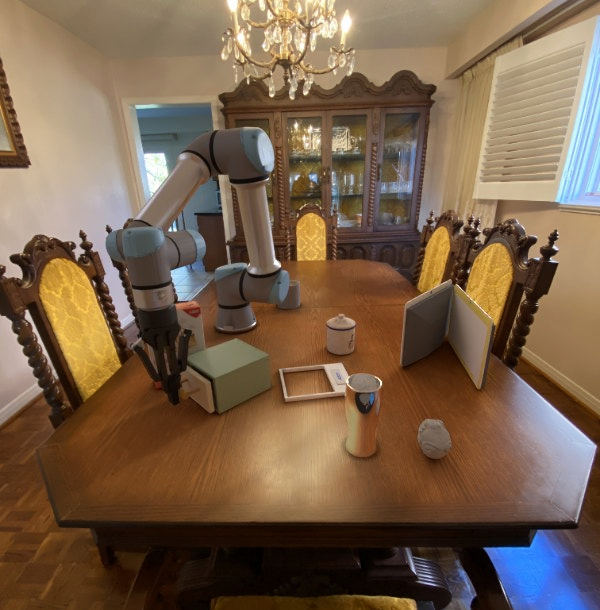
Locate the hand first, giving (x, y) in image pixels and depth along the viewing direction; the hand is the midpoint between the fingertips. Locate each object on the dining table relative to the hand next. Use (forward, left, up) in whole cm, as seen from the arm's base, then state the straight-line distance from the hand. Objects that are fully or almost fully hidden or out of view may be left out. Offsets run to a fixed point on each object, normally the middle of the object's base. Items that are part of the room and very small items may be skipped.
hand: (174, 402), depth 80 cm
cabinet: (0, +15, -3) cm, 15 cm away
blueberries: (0, +12, -2) cm, 12 cm away
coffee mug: (-39, +68, -4) cm, 79 cm away
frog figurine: (+48, +29, -4) cm, 56 cm away
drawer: (0, +10, -2) cm, 10 cm away
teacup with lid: (+5, +53, -4) cm, 54 cm away
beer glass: (+37, +21, -4) cm, 43 cm away
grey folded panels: (+30, +66, -3) cm, 73 cm away
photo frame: (+14, +32, -3) cm, 35 cm away
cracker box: (-14, +8, -4) cm, 17 cm away
